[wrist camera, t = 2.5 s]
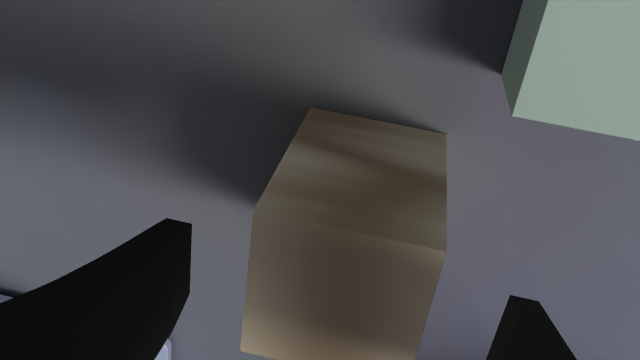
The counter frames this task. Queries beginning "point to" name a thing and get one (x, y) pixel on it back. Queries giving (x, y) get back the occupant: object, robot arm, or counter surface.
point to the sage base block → (577, 65)
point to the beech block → (347, 242)
